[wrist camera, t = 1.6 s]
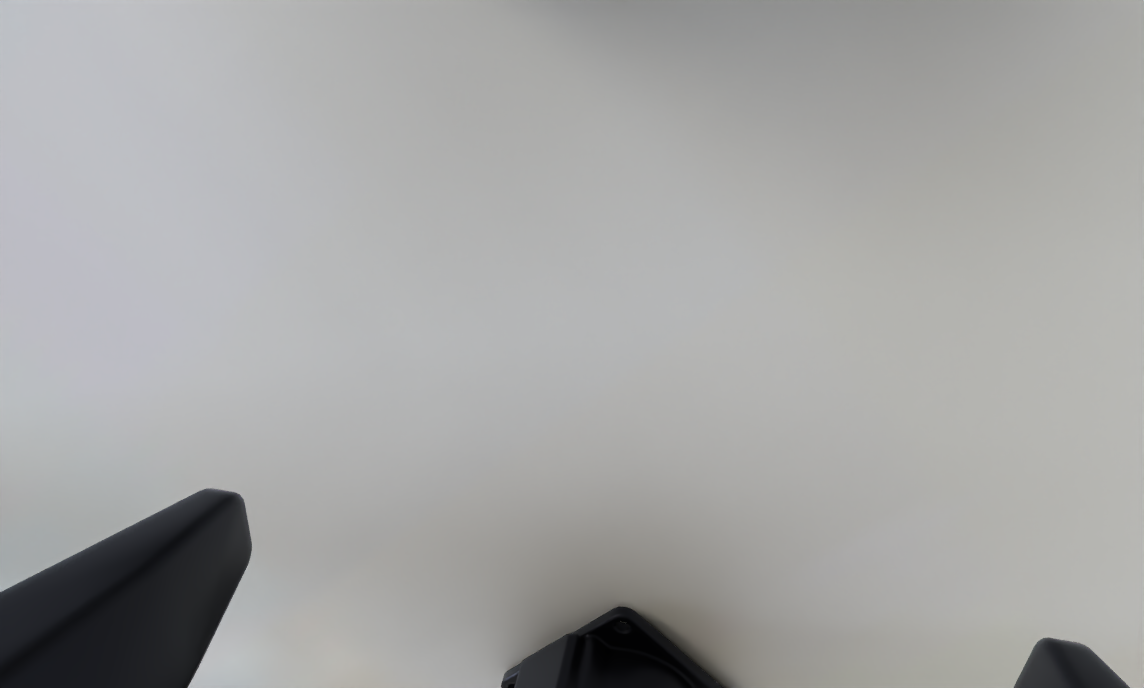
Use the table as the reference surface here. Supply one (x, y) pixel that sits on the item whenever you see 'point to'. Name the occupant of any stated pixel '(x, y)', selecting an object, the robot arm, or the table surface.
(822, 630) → the table surface
